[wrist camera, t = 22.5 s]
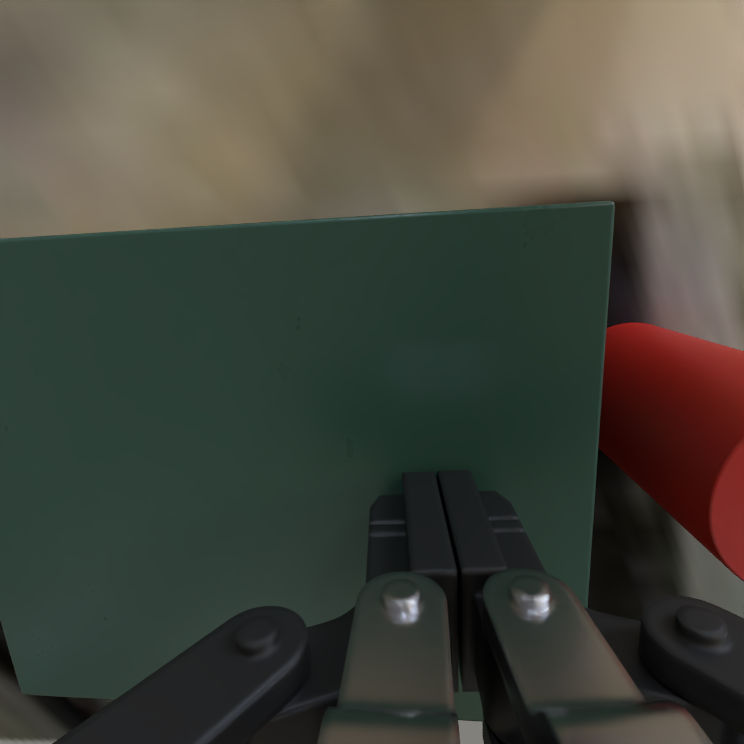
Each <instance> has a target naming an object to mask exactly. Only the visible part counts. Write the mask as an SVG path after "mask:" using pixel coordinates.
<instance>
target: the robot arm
mask: <svg viewBox="0 0 744 744" xmlns="http://www.w3.org/2000/svg"><path fill="white" fill-rule="evenodd" d="M402 481H403V494H400V495H380V496H379V497H378V498H377V500H376V501H375V502H374V503H373V505H372V506H371V507H370V515H369V533H368V536H369V537H368V551H367V569H366V584H365V585H364V586H363V588H362V589H361V590H360V592H359V594H358V597H357V600H356V605H355V606H354V607H353V608H352V609H351V610H350V611H348V612H347V613H345V614H344V615H342V616H340V617H338V618H336V619H333V620H330V621H327V622H324V623H321V624H317V625H314V626H310V627H307V628H306V625H305V623H304V620H303V619H302V618H301V617H300V616H299V615H298V614H297V613H296V612H294V611H292V610H290V609H288V608H284V607H280V606H261V607H256V608H252V609H249V610H246V611H243V612H241V613H239V614H237V615H235V616H234V617H232V618H230V619H229V620H227V621H226V622H225V623H223V624H222V625H220V626H219V627H217V628H216V629H215V630H213V631H212V632H210V633H209V634H208V635H206V636H205V637H203V638H202V639H200V640H199V641H198V642H196V643H195V644H193V645H192V646H191V647H189V648H188V649H186V650H185V651H183V652H182V653H181V654H179V655H178V656H176V657H175V658H173V659H172V660H171V661H169V662H168V663H166V664H165V665H164V666H162V667H161V668H159V669H158V670H156V671H155V672H154V673H152V674H151V675H149V676H148V677H146V678H145V679H144V680H142V681H141V682H139V683H138V684H137V685H135V686H134V687H132V688H131V689H129V690H128V691H127V692H125V693H124V694H122V695H121V696H120V697H118V698H117V699H115V700H114V701H112V702H111V703H110V704H108V705H107V706H105V707H104V708H102V709H101V710H100V711H98V712H97V713H95V714H94V715H93V716H91V717H90V718H88V719H87V720H85V721H84V722H83V723H81V724H80V725H78V726H77V727H75V728H74V729H73V730H71V731H70V732H68V733H67V734H66V735H64V736H63V737H61V738H60V739H58V740H57V741H56V742H54V743H53V744H460V738H459V725H458V717H457V713H455V706H454V692H459V681H458V667H459V672H460V678H461V683H462V689H463V692H479V695H480V699H481V704H482V708H483V740H484V744H744V618H742V617H739V616H737V615H735V614H733V613H731V612H729V611H727V610H725V609H722V608H720V607H718V606H716V605H713V604H711V603H708V602H705V601H702V600H699V599H695V598H691V597H684V596H662V597H658V598H655V599H653V600H651V601H649V602H648V603H647V604H646V605H645V606H644V608H643V611H642V616H641V621H639V620H634V619H629V618H624V617H619V616H614V615H609V614H604V613H600V612H596V611H594V610H591V609H588V608H585V607H583V605H582V604H581V602H580V601H579V599H578V598H577V596H576V595H575V593H574V592H573V591H572V590H571V588H570V587H569V586H567V585H566V584H565V583H564V582H563V581H561V580H560V579H558V578H556V577H554V576H553V575H550V574H548V573H546V571H545V569H544V567H543V565H542V563H541V561H540V559H539V557H538V555H537V553H536V551H535V549H534V547H533V545H532V543H531V541H530V539H529V537H528V535H527V533H526V532H524V527H523V525H522V523H521V522H520V520H518V516H517V514H516V512H515V510H514V508H513V506H512V504H511V502H510V501H508V500H507V499H506V498H504V497H503V496H501V495H500V494H499V493H497V492H496V491H478V490H477V488H476V485H475V482H474V480H473V477H472V475H471V472H470V470H453V471H437V472H436V477H435V472H434V471H430V472H404V473H402Z"/></svg>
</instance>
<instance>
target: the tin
mask: <svg viewBox="0 0 744 744" xmlns="http://www.w3.org/2000/svg"><path fill="white" fill-rule="evenodd" d="M598 448H599V449H600V450H601V451H602V452H603V453H604V454H606V455H607V456H608V457H609V458H610V459H611V460H612V461H613V462H614V463H615V464H616V465H617V466H618V467H620V468H621V469H622V470H623V471H624V472H625V473H626V474H627V475H628V476H629V477H630V478H631V479H632V480H633V481H635V482H636V483H637V484H638V485H639V486H640V487H641V488H642V489H643V490H644V491H645V492H646V493H647V494H649V495H650V496H651V497H652V498H653V499H654V500H655V501H656V502H657V503H658V504H659V505H660V506H661V507H663V508H664V509H665V510H666V511H667V512H668V513H669V514H670V515H671V516H672V517H673V518H674V519H675V520H676V521H678V522H679V523H680V524H681V525H682V526H683V527H684V528H685V529H686V530H687V531H688V532H689V533H690V534H692V535H693V536H694V537H695V538H696V539H697V540H698V541H699V542H700V543H701V544H702V545H703V546H704V547H705V548H707V549H708V550H709V551H710V552H711V553H712V554H713V555H714V556H715V557H716V558H717V559H718V560H719V561H721V562H722V563H723V564H724V565H725V566H726V567H727V568H728V569H729V570H730V571H731V572H732V573H734V574H735V575H736V576H737V577H739V578H740V579H741V580H742V581H744V351H741V350H737V349H734V348H730V347H727V346H723V345H720V344H716V343H713V342H710V341H706V340H703V339H699V338H696V337H692V336H689V335H685V334H682V333H678V332H675V331H671V330H668V329H664V328H661V327H657V326H654V325H650V324H645V323H624V324H619V325H615V326H612V327H609V328H606V342H605V357H604V371H603V386H602V400H601V415H600V429H599V444H598Z"/></svg>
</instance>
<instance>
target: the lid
mask: <svg viewBox="0 0 744 744" xmlns="http://www.w3.org/2000/svg"><path fill="white" fill-rule="evenodd" d="M614 211H615V205H614V202H612V201H599V202H583V203H567V204H551V205H535V206H519V207H503V208H486V209H470V210H454V211H438V212H422V213H406V214H390V215H374V216H358V217H342V218H326V219H310V220H294V221H278V222H262V223H246V224H230V225H213V226H197V227H181V228H165V229H149V230H133V231H117V232H101V233H85V234H69V235H53V236H37V237H21V238H5V239H0V621H1V624H2V628H3V631H4V634H5V638H6V641H7V645H8V648H9V652H10V655H11V659H12V662H13V665H14V669H15V672H16V676H17V679H18V683H19V686H20V690H21V693H22V694H26V695H43V696H60V697H77V698H94V699H111V700H115V699H117V698H118V697H120V696H121V695H122V694H124V693H125V692H127V691H128V690H129V689H131V688H132V687H134V686H135V685H137V684H138V683H139V682H141V681H142V680H144V679H145V678H146V677H148V676H149V675H151V674H152V673H154V672H155V671H156V670H158V669H159V668H161V667H162V666H164V665H165V664H166V663H168V662H169V661H171V660H172V659H173V658H175V657H176V656H178V655H179V654H181V653H182V652H183V651H185V650H186V649H188V648H189V647H191V646H192V645H193V644H195V643H196V642H198V641H199V640H200V639H202V638H203V637H205V636H206V635H208V634H209V633H210V632H212V631H213V630H215V629H216V628H217V627H219V626H220V625H222V624H223V623H225V622H226V621H227V620H229V619H230V618H232V617H234V616H235V615H237V614H239V613H241V612H243V611H246V610H249V609H252V608H256V607H261V606H280V607H284V608H288V609H290V610H292V611H294V612H296V613H297V614H298V615H299V616H300V617H301V618H302V619H303V620H304V623H305V625H306V628H307V627H310V626H314V625H317V624H321V623H324V622H327V621H330V620H333V619H336V618H338V617H340V616H342V615H344V614H345V613H347V612H348V611H350V610H351V609H352V608H353V607H354V606H355V605H356V600H357V597H358V594H359V592H360V590H361V589H362V588H363V586H364V585H365V584H366V569H367V551H368V537H369V536H368V533H369V515H370V507H371V506H372V505H373V503H374V502H375V501H376V500H377V498H378V497H379V496H380V495H400V494H403V481H402V473H404V472H430V471H434V472H435V477H436V472H437V471H453V470H470V472H471V475H472V477H473V480H474V482H475V485H476V488H477V490H478V491H496V492H497V493H499V494H500V495H501V496H503V497H504V498H506V499H507V500H508V501H510V502H511V504H512V506H513V508H514V510H515V512H516V514H517V516H518V520H520V522H521V523H522V525H523V527H524V532H526V533H527V535H528V537H529V539H530V541H531V543H532V545H533V547H534V549H535V551H536V553H537V555H538V557H539V559H540V561H541V563H542V565H543V567H544V569H545V571H546V573H548V574H550V575H553V576H554V577H556V578H558V579H560V580H561V581H563V582H564V583H565V584H566V585H567V586H569V587H570V588H571V590H572V591H573V592H574V593H575V595H576V596H577V598H578V599H579V601H580V602H581V604H582V605H583V607H585V608H587V603H588V589H589V574H590V560H591V545H592V531H593V516H594V502H595V487H596V473H597V458H598V444H599V429H600V415H601V400H602V386H603V371H604V357H605V342H606V328H607V313H608V298H609V284H610V269H611V255H612V240H613V226H614ZM458 681H459V692H454V706H455V713H457V717H458V720H468V721H483V708H482V704H481V699H480V695H479V692H463V689H462V683H461V678H460V672H459V667H458Z"/></svg>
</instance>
